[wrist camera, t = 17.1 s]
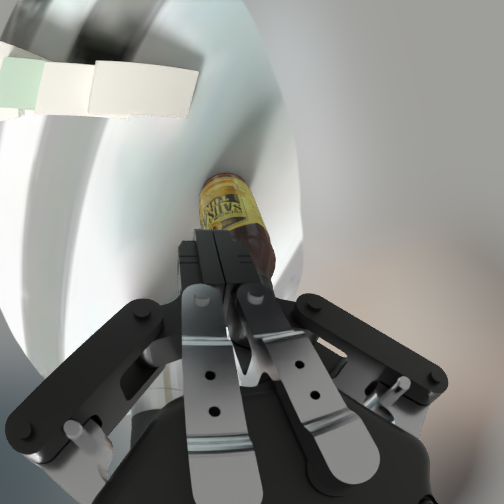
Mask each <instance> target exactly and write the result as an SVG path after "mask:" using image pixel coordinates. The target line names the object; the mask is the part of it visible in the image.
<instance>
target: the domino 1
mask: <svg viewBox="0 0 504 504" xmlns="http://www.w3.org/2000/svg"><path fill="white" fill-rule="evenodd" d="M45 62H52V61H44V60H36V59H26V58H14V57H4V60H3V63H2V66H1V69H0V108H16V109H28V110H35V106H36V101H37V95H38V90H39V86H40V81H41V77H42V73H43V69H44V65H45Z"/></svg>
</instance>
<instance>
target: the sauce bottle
mask: <svg viewBox="0 0 504 504" xmlns="http://www.w3.org/2000/svg"><path fill="white" fill-rule="evenodd" d="M199 211H200V221H201V229H211V230H212V229H214V230H229V232H230V235H231V238H232V241H241V242H242V243H243V244H244V245H245V246H246V247H247V248H248V251H249V253H250V257H251V258H252V261H253V263H254V266H255V268H256V271H257V273H258V276H259V278H260V281H261V283H262V285H264V286H266V287H268V288H269V289H270V290H271V291H272V292H273V294H274V291H273V285H272V282H271V277H272V275H273V273H274V270H275V262H276V258H275V254H274V250H273V248H272V245H271V243H270V237H269V234H268V232H267V229H266V227H265V224H264V222H263V220H262V217H261V215H260V212H259V210H258V207H257V205H256V202H255V200H254V197H253V195H252V193H251V190H250V188H249V187H248V186H247V184H246V183H245V181H244V180H243V179H242V178H241V177H239V176H237V175H234V174H230V173H223V174H219V175H216V176H214V177H211V178H210V179H209V180H208V181H206V183H205V184H204V186H203V188H202V190H201V193H200V197H199ZM274 296H275V294H274Z"/></svg>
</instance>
